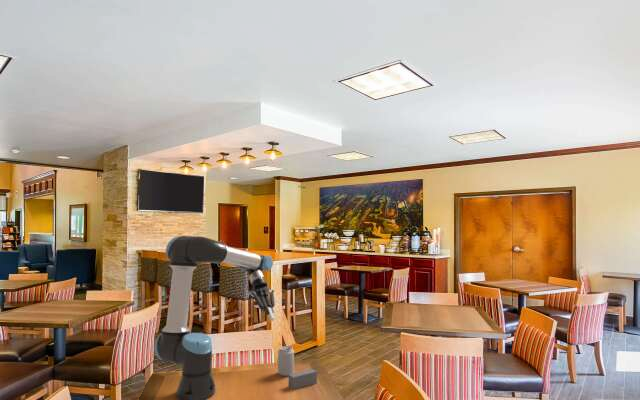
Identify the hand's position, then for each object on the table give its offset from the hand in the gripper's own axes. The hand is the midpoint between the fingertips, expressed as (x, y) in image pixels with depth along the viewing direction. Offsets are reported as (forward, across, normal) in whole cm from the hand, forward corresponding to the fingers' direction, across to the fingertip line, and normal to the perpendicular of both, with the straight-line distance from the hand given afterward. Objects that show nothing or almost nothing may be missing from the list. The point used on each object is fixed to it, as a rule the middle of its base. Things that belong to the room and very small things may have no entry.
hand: (272, 319), depth 198 cm
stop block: (+36, 0, +5) cm, 36 cm away
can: (+26, 0, -6) cm, 26 cm away
